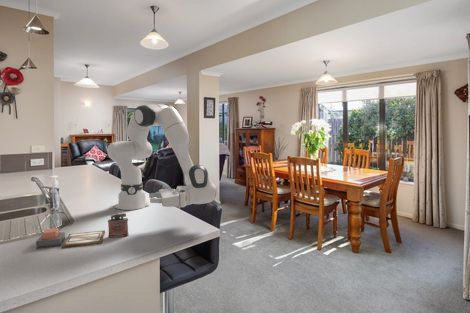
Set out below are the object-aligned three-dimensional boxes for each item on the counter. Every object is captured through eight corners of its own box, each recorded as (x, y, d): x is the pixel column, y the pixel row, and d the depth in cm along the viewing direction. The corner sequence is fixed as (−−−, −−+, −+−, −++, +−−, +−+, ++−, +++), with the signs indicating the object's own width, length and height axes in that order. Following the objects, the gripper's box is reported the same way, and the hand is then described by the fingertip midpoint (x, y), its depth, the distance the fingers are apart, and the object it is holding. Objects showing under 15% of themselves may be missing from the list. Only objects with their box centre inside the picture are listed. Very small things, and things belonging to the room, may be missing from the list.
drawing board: (69, 236, 121) (69, 233, 121) (104, 232, 125) (104, 229, 125) (61, 248, 109) (61, 245, 108) (101, 243, 113) (101, 241, 113)
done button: (46, 236, 114) (45, 229, 114) (58, 235, 116) (58, 228, 115) (43, 240, 110) (42, 233, 110) (55, 239, 112) (55, 231, 111)
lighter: (107, 238, 119) (106, 215, 118) (109, 235, 122) (108, 213, 121) (128, 236, 121) (127, 214, 120) (128, 234, 124) (128, 211, 123)
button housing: (42, 241, 116) (42, 234, 115) (65, 238, 118) (64, 231, 118) (36, 249, 108) (35, 241, 108) (60, 246, 111) (59, 238, 110)
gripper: (178, 184, 138) (148, 186, 133) (184, 193, 119) (150, 196, 114) (178, 197, 138) (148, 199, 134) (185, 208, 119) (150, 211, 115)
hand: (149, 198), depth 124 cm, fingers open, 8 cm apart
